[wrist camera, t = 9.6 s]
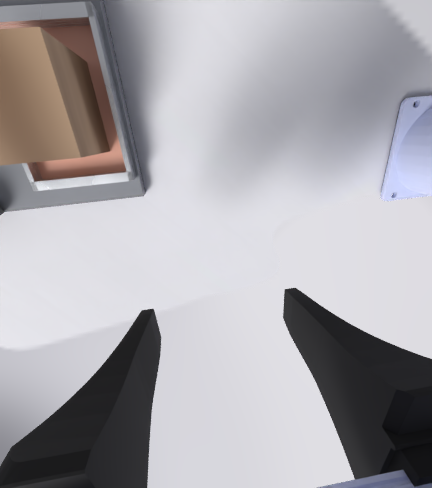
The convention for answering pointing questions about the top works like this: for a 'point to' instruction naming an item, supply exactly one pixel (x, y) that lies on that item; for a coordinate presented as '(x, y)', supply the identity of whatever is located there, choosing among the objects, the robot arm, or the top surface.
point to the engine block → (45, 100)
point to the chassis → (110, 105)
